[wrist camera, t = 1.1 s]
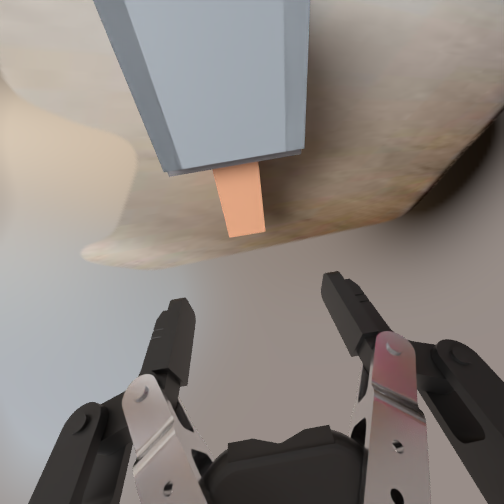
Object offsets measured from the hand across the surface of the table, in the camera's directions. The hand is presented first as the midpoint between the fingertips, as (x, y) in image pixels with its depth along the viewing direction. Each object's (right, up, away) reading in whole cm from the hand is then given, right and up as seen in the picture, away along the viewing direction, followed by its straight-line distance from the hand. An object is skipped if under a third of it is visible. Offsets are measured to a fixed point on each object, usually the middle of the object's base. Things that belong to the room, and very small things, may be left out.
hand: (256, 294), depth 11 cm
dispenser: (-3, +17, +5) cm, 18 cm away
